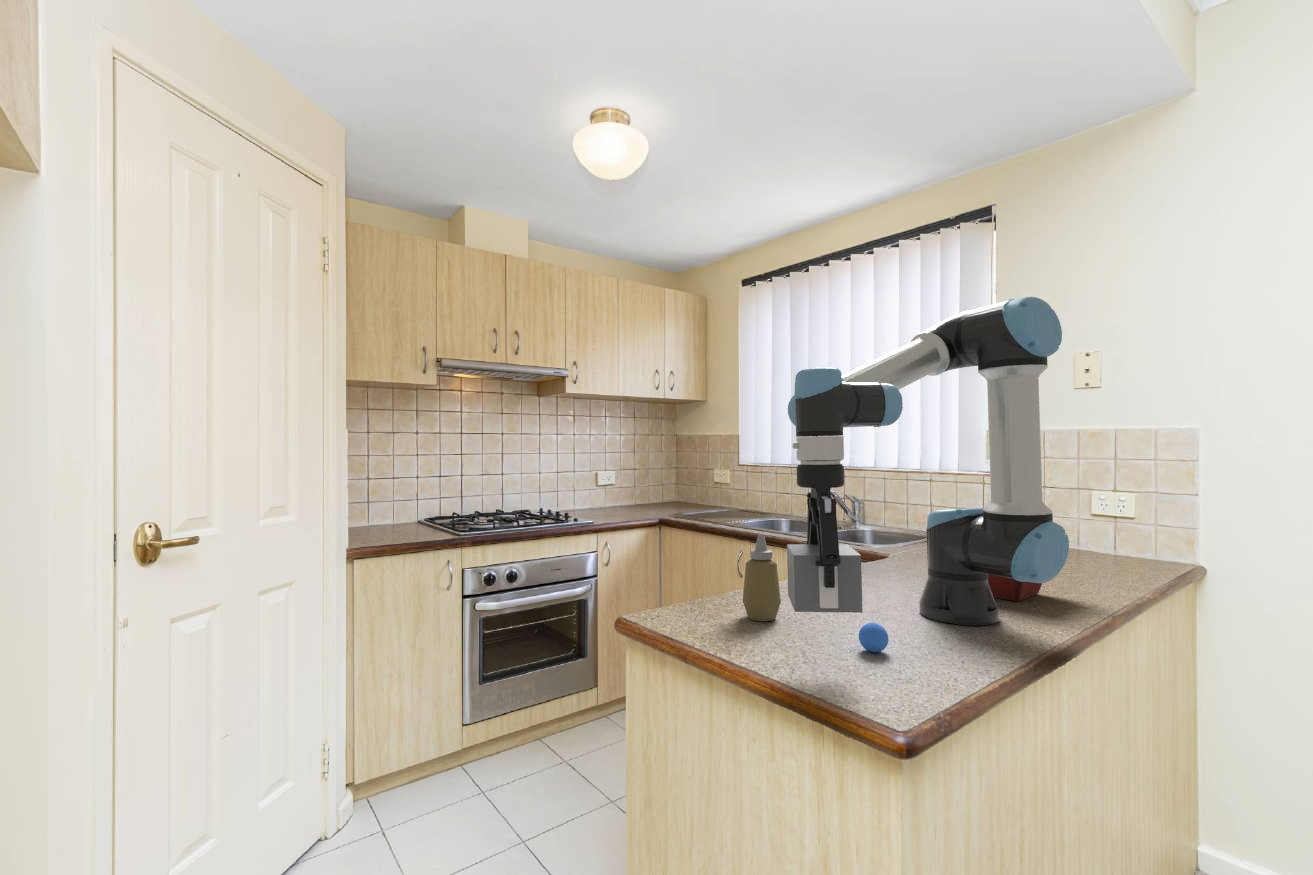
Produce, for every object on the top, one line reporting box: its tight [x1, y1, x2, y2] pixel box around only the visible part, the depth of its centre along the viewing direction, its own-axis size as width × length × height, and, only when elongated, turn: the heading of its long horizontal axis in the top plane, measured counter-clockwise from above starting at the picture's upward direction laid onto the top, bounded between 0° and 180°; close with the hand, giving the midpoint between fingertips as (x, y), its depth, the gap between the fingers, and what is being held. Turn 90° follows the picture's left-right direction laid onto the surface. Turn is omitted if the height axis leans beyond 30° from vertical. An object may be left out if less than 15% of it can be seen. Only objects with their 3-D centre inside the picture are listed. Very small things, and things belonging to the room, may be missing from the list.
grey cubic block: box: [786, 543, 863, 614], centre depth 97 cm, size 10×10×9 cm
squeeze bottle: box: [742, 532, 782, 622], centre depth 126 cm, size 8×8×18 cm
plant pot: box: [988, 574, 1043, 602], centre depth 147 cm, size 19×19×17 cm
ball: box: [858, 622, 889, 653], centre depth 105 cm, size 5×5×5 cm
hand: (823, 598), depth 97 cm, fingers closed on grey cubic block, 10 cm apart
